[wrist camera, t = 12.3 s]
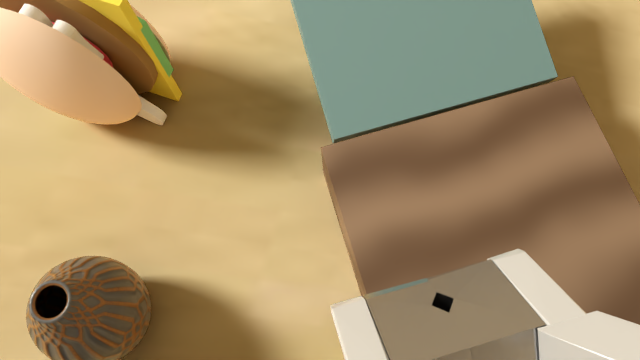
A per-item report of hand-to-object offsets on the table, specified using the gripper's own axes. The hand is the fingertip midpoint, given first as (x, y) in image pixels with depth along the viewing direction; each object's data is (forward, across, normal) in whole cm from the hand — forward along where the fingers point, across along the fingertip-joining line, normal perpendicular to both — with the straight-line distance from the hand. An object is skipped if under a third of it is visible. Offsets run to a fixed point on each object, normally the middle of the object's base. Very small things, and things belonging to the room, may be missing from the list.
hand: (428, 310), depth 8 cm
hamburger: (+39, +14, +3) cm, 41 cm away
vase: (+26, +16, +16) cm, 34 cm away
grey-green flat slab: (+28, -10, +8) cm, 31 cm away
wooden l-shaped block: (+24, -10, +18) cm, 31 cm away
